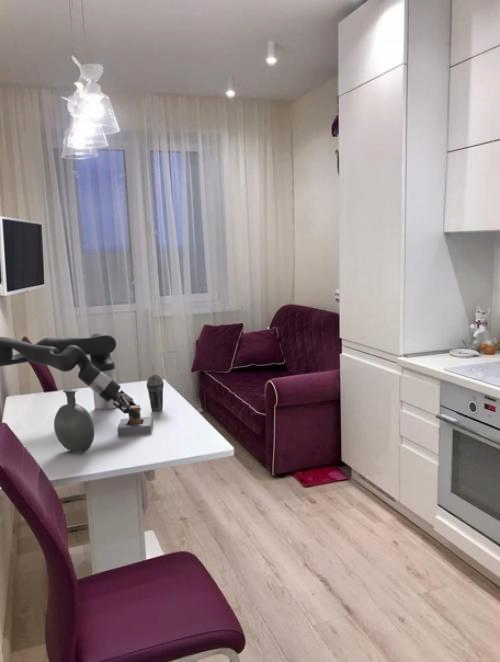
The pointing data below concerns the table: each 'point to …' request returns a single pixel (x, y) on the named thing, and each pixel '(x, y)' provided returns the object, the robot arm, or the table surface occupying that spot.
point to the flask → (74, 425)
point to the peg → (131, 419)
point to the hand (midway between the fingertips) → (138, 414)
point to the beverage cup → (155, 392)
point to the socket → (135, 427)
